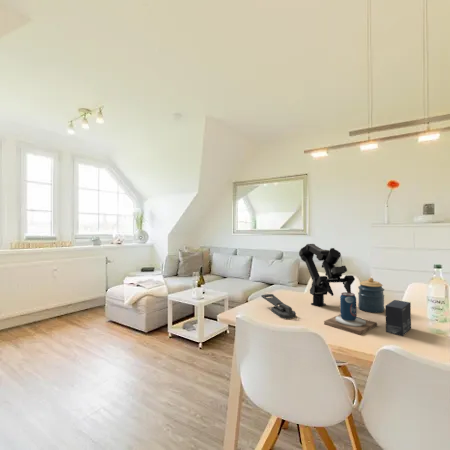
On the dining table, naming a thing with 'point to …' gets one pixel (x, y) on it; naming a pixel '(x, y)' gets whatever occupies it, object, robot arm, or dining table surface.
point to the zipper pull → (280, 307)
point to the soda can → (348, 306)
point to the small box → (398, 317)
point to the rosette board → (351, 324)
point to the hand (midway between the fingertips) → (341, 295)
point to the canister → (371, 296)
